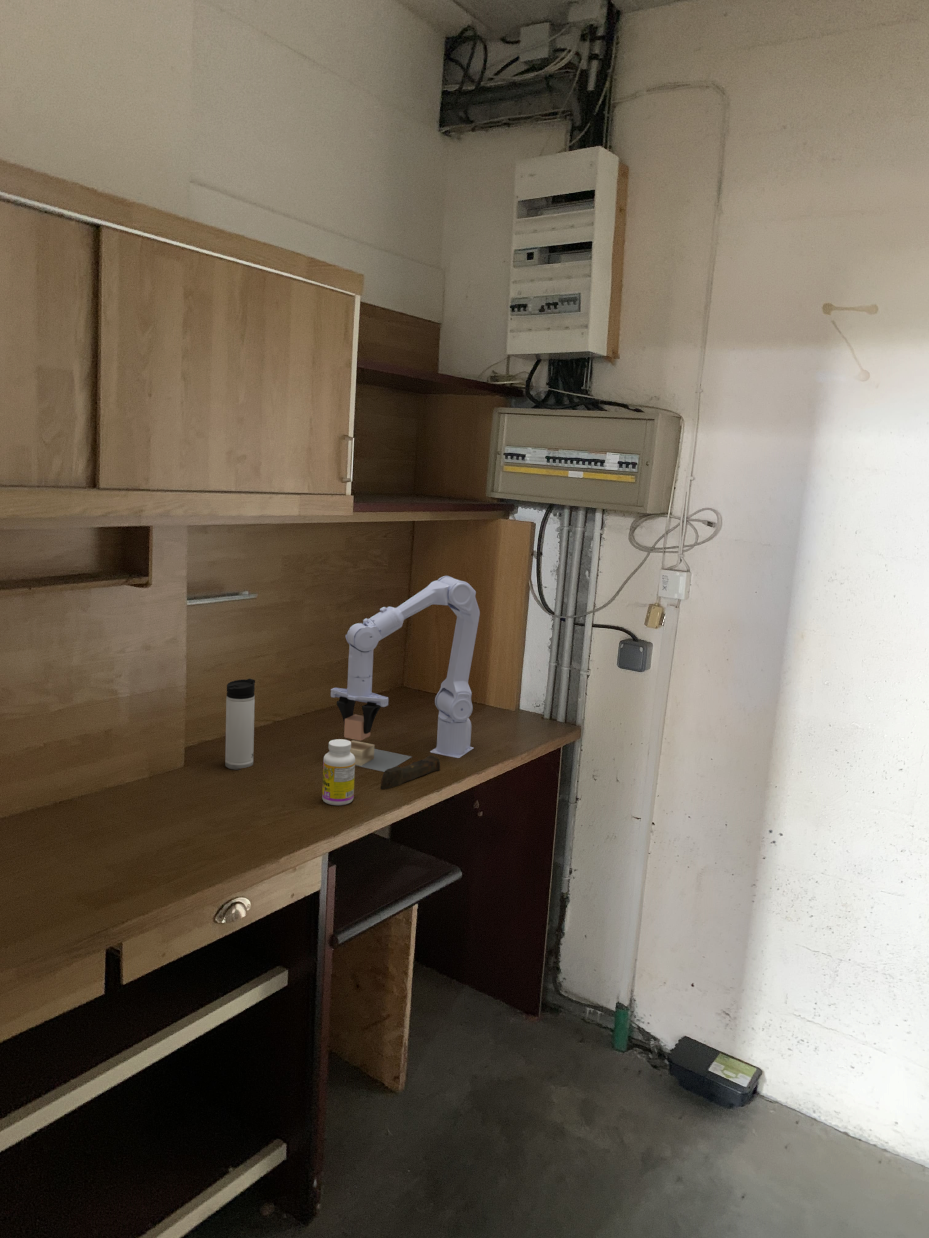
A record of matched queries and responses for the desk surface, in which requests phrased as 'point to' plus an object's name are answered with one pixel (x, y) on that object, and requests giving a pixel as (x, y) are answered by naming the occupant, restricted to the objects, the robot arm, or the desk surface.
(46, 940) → the desk surface
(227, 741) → the travel mug
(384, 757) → the rubber mat
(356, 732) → the terracotta cube
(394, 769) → the hand tool
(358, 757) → the beech block
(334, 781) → the supplement bottle
